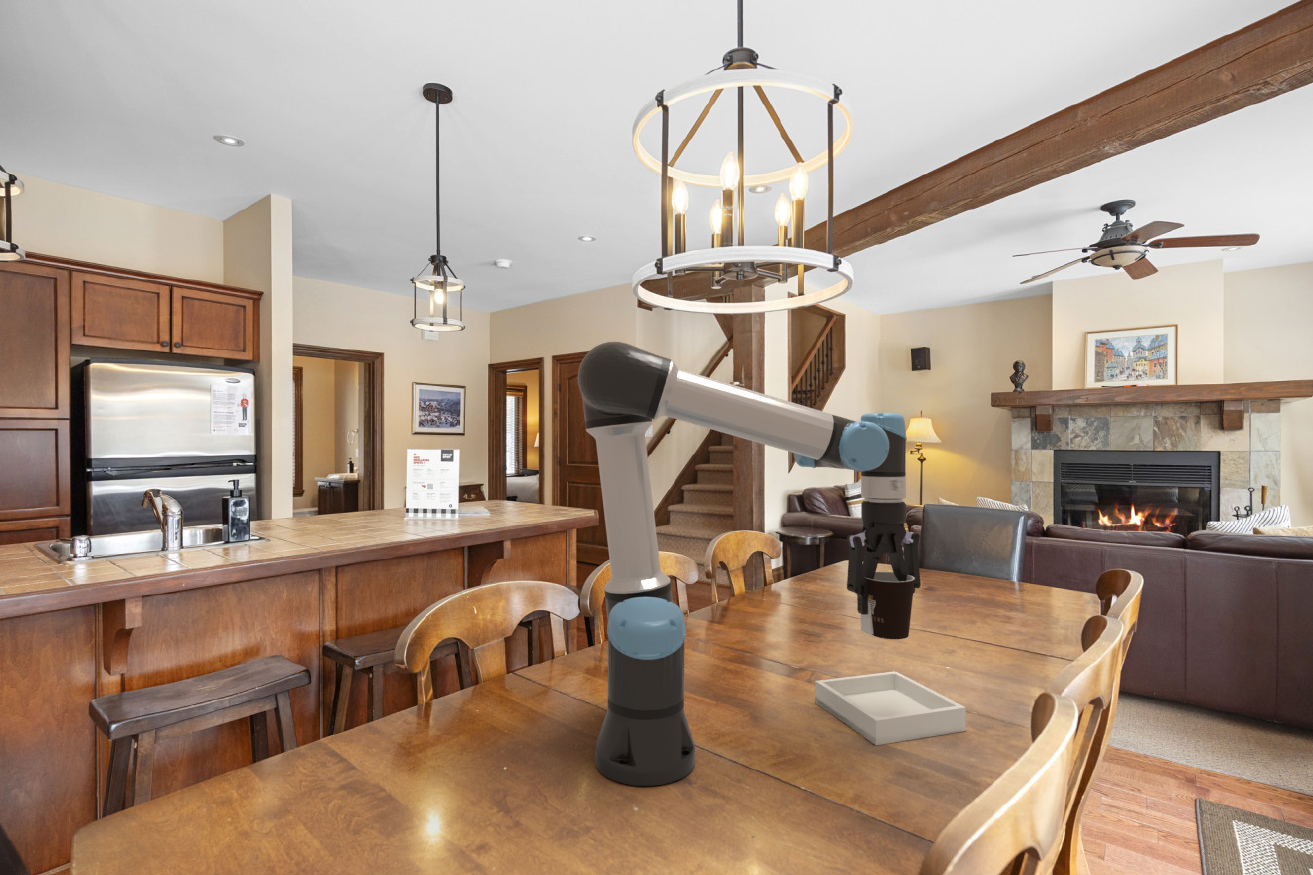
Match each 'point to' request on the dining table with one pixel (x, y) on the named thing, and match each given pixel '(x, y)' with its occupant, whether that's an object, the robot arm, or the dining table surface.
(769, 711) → the dining table surface
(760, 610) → the dining table surface
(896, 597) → the coffee mug
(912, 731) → the white tray
